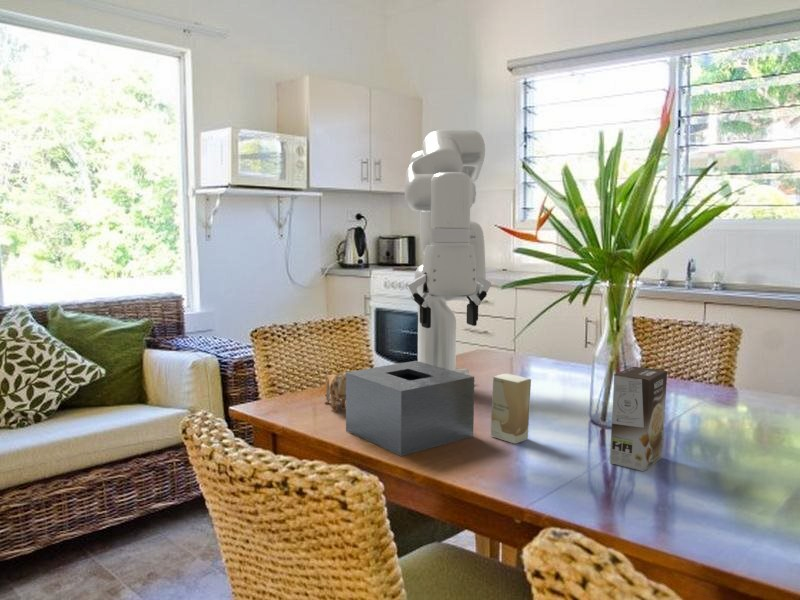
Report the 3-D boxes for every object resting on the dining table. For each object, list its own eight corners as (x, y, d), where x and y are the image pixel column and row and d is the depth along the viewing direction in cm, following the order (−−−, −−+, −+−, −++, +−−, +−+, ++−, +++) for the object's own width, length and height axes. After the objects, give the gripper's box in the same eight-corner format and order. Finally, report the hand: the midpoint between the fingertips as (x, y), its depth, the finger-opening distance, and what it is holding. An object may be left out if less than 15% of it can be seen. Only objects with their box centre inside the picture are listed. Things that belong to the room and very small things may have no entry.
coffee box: (645, 472, 114) (650, 380, 112) (608, 463, 118) (612, 374, 116) (663, 457, 121) (668, 370, 119) (628, 449, 125) (632, 365, 123)
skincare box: (489, 436, 132) (491, 375, 130) (503, 431, 135) (504, 372, 133) (516, 444, 127) (518, 381, 126) (529, 439, 130) (531, 377, 129)
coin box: (415, 414, 146) (415, 360, 145) (473, 436, 132) (474, 376, 130) (346, 430, 135) (345, 372, 134) (401, 456, 121) (401, 391, 119)
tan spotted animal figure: (359, 413, 147) (359, 373, 146) (337, 416, 145) (336, 375, 144) (335, 397, 160) (335, 360, 159) (314, 399, 158) (313, 362, 157)
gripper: (481, 237, 135) (480, 321, 137) (401, 237, 129) (400, 325, 131) (499, 238, 128) (497, 326, 130) (415, 238, 122) (414, 331, 124)
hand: (449, 326), depth 131 cm, fingers open, 9 cm apart
